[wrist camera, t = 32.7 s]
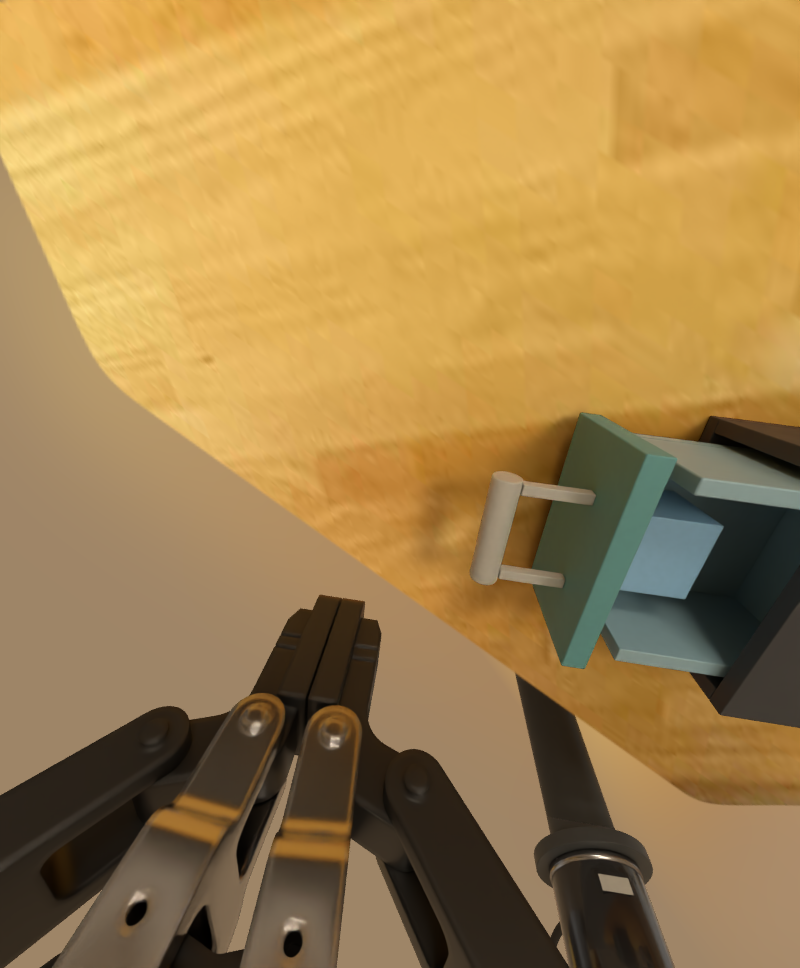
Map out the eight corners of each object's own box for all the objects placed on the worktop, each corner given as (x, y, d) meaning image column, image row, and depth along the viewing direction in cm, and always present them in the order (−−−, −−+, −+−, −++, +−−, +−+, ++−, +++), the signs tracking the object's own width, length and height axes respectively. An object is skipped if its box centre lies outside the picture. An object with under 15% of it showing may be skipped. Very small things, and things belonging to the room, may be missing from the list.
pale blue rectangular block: (645, 555, 23) (685, 599, 19) (586, 547, 23) (614, 589, 19) (674, 491, 21) (724, 526, 17) (610, 482, 21) (646, 515, 17)
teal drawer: (456, 565, 26) (463, 650, 19) (491, 400, 21) (516, 436, 14) (722, 605, 25) (827, 708, 18) (819, 443, 20) (1007, 502, 14)
